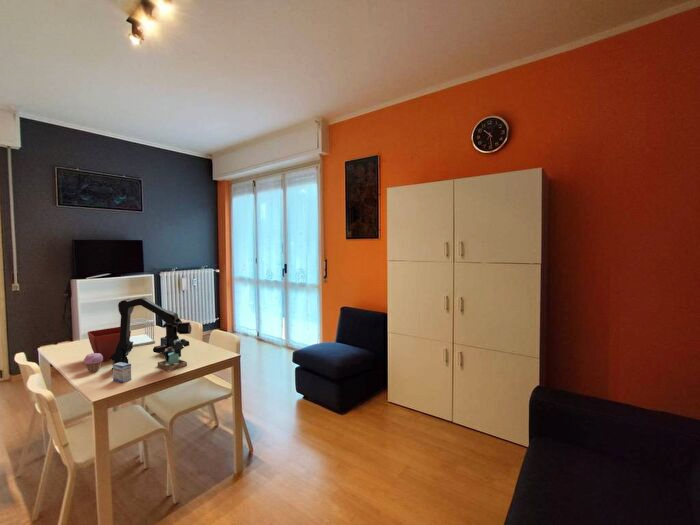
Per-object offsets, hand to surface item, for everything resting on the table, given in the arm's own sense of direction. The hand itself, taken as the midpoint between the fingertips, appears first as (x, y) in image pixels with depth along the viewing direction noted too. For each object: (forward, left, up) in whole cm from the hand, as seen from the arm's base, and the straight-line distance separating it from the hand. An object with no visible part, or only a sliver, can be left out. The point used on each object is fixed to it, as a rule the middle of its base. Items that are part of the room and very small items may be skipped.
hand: (172, 360), depth 196 cm
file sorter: (+13, +71, -4) cm, 73 cm away
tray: (0, 0, -3) cm, 3 cm away
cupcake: (-29, +28, -3) cm, 41 cm away
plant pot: (-14, +47, -3) cm, 50 cm away
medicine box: (-26, 0, -3) cm, 26 cm away
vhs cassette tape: (+11, +22, -3) cm, 25 cm away
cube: (0, 0, -1) cm, 1 cm away
